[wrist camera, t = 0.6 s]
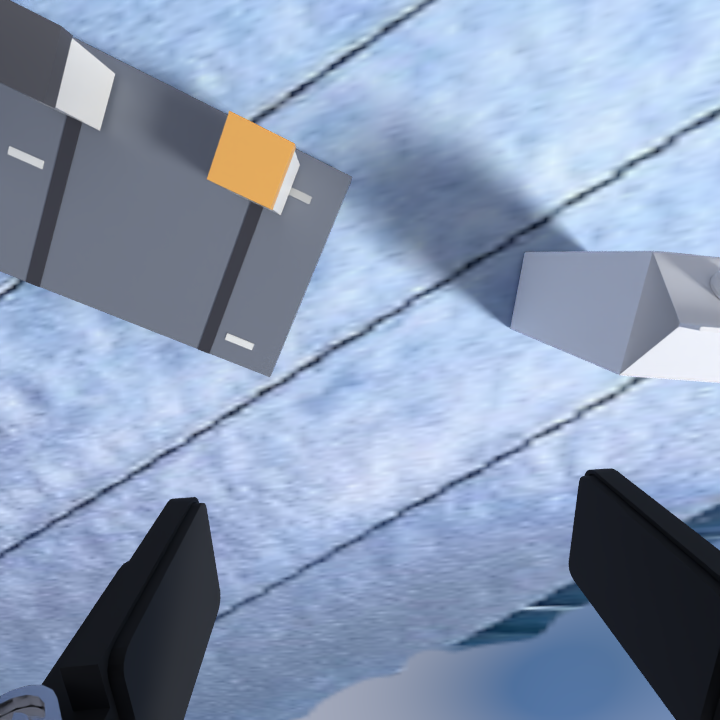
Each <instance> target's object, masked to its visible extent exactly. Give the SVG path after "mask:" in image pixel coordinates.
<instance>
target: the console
mask: <svg viewBox="0 0 720 720" xmlns="http://www.w3.org/2000/svg"><path fill="white" fill-rule="evenodd" d="M72 38H73V39H74V40H75V41H76V42H78V43H79V44H80V45H81V46H82V47H84V48H85V49H86V50H87V51H88V52H90V53H91V54H92V55H93V56H94V57H96V58H97V59H98V60H99V61H100V62H102V63H103V64H104V65H105V66H106V67H108V68H109V69H110V70H111V71H112V72H114V73H115V77H114V80H113V84H112V88H111V92H110V95H109V99H108V103H107V107H106V110H105V114H104V118H103V121H102V125H101V129H100V131H99V130H97V129H95V128H93V127H91V126H89V125H87V124H84V123H82V122H80V121H78V120H76V119H74V118H72V117H69V116H67V115H65V114H63V113H61V112H59V111H57V110H54V109H52V108H50V107H48V106H46V105H44V104H42V103H40V102H38V101H36V100H34V99H32V98H30V97H28V96H26V95H24V94H22V93H20V92H18V91H16V90H14V89H12V88H10V87H8V86H5V85H3V84H1V83H0V271H1V272H3V273H6V274H9V275H11V276H14V277H16V278H19V279H21V280H24V281H26V282H28V283H30V284H33V285H35V286H38V287H42V288H44V289H47V290H49V291H52V292H54V293H57V294H59V295H62V296H65V297H67V298H70V299H72V300H75V301H77V302H80V303H82V304H85V305H87V306H90V307H93V308H95V309H98V310H100V311H103V312H105V313H108V314H110V315H113V316H116V317H118V318H121V319H123V320H126V321H128V322H131V323H133V324H136V325H138V326H141V327H144V328H146V329H149V330H151V331H154V332H156V333H159V334H161V335H164V336H166V337H169V338H172V339H174V340H177V341H179V342H182V343H184V344H187V345H189V346H192V347H194V348H197V349H198V350H201V351H204V352H206V353H210V354H212V355H215V356H217V357H220V358H222V359H225V360H228V361H230V362H233V363H235V364H238V365H240V366H243V367H245V368H248V369H251V370H253V371H256V372H258V373H261V374H263V375H266V376H268V377H270V376H271V374H272V372H273V370H274V368H275V365H276V363H277V360H278V358H279V355H280V353H281V351H282V348H283V346H284V343H285V341H286V338H287V336H288V334H289V331H290V329H291V326H292V324H293V321H294V319H295V317H296V314H297V312H298V309H299V307H300V304H301V302H302V300H303V297H304V295H305V292H306V290H307V287H308V285H309V283H310V280H311V278H312V275H313V273H314V270H315V268H316V266H317V263H318V261H319V258H320V256H321V253H322V251H323V249H324V246H325V244H326V241H327V239H328V236H329V234H330V231H331V229H332V227H333V224H334V222H335V219H336V217H337V214H338V212H339V210H340V207H341V205H342V202H343V200H344V197H345V195H346V193H347V190H348V188H349V185H350V183H351V180H352V177H351V176H349V175H347V174H345V173H343V172H341V171H339V170H337V169H335V168H333V167H331V166H329V165H327V164H325V163H323V162H321V161H319V160H317V159H315V158H313V157H311V156H309V155H307V154H305V153H303V152H301V151H299V150H297V149H295V153H296V156H297V159H298V161H299V164H300V166H299V169H298V171H297V174H296V176H295V179H294V182H293V184H292V187H291V190H290V192H289V195H288V197H287V200H286V203H285V205H284V208H283V211H282V213H281V215H279V214H277V213H275V212H273V211H271V210H268V209H266V208H264V207H262V206H260V205H258V204H256V203H253V202H251V201H249V200H247V199H245V198H243V197H241V196H238V195H236V194H234V193H232V192H230V191H229V190H227V189H225V188H223V187H221V186H219V185H217V184H215V183H213V182H211V181H209V180H207V177H208V174H209V171H210V168H211V165H212V162H213V159H214V156H215V153H216V150H217V147H218V144H219V141H220V138H221V135H222V132H223V129H224V126H225V123H226V120H227V117H228V115H227V114H225V113H223V112H221V111H219V110H217V109H215V108H213V107H211V106H209V105H208V104H206V103H204V102H202V101H200V100H198V99H196V98H194V97H192V96H190V95H188V94H186V93H184V92H182V91H180V90H178V89H176V88H174V87H172V86H170V85H168V84H166V83H164V82H162V81H160V80H158V79H156V78H154V77H152V76H150V75H148V74H146V73H144V72H142V71H140V70H138V69H136V68H134V67H132V66H130V65H128V64H126V63H124V62H122V61H120V60H118V59H116V58H114V57H112V56H110V55H108V54H106V53H104V52H102V51H100V50H98V49H96V48H94V47H92V46H90V45H88V44H86V43H84V42H82V41H80V40H78V39H76V38H74V37H72Z"/></svg>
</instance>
